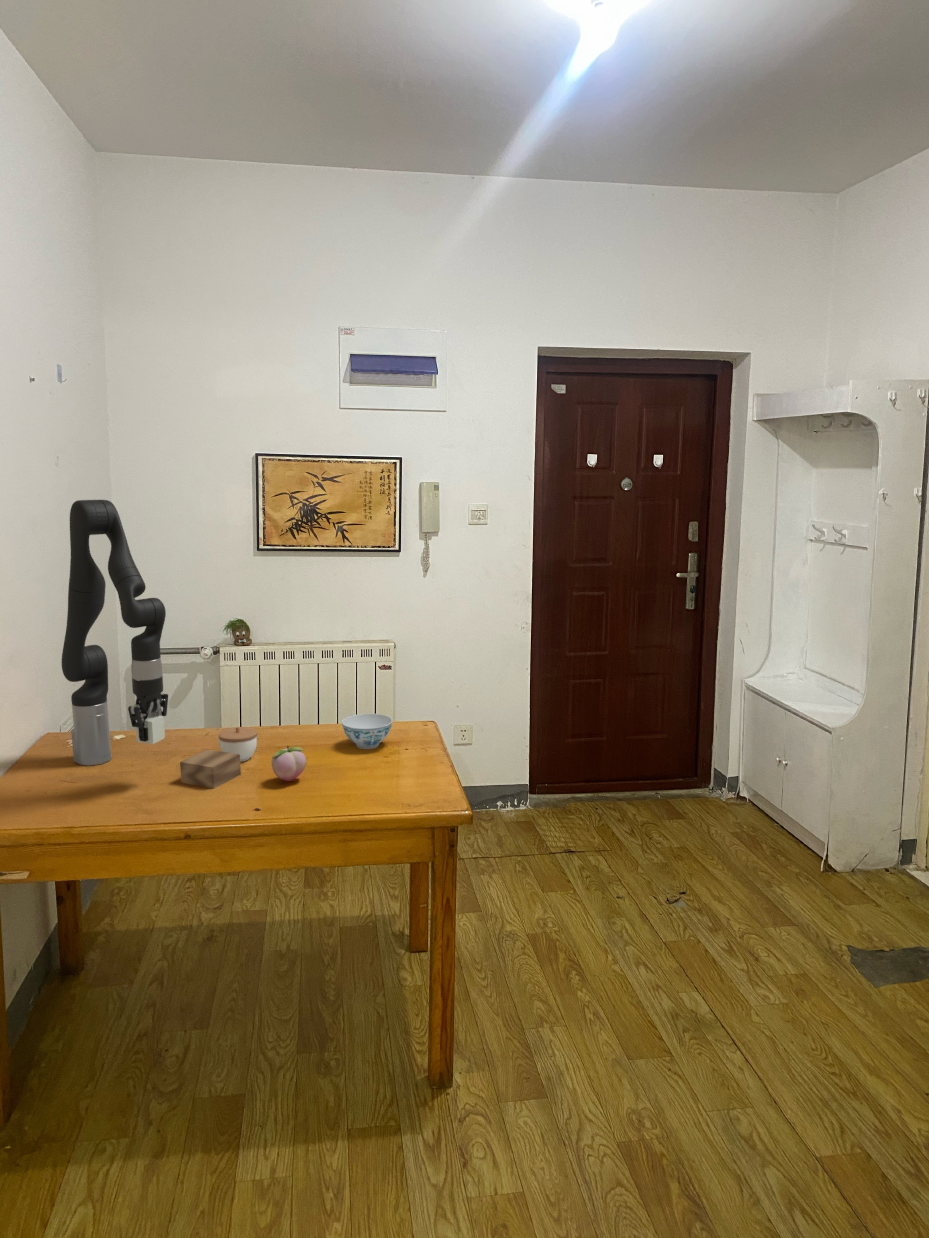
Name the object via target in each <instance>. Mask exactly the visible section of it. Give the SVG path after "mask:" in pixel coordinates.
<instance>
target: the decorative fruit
mask: <svg viewBox="0 0 929 1238" xmlns="http://www.w3.org/2000/svg"><path fill="white" fill-rule="evenodd" d="M305 751H306V750H305V749H304V748H302V747H299V746H293V747H289V745H287V747H286V748H284V749H283V748H282V749H280V750H278V751H276V752H275V753H274V754H273V755H272V758H271V769H272V770H273V773H274V775H275V776H276V777H277V778H279V779H281V780H282V781H286V782H292V781H294V780H296V779H297V778H298V777H300V775H301V774H302V773H303V772H304V770H305V768H306V767H307V757H306V756H305V754H304V753H303V752H305Z"/></svg>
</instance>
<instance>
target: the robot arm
mask: <svg viewBox="0 0 929 1238" xmlns="http://www.w3.org/2000/svg"><path fill="white" fill-rule="evenodd" d="M69 511H70V512H69V539H70V540H69V541H70V543H69V544H70V562H69V563H70V564H69V580H68V591H67V592H68V595H67V616H66V628H65V635H64V641H63V647H62V653H61V670H62V674H63V676H64V678H65V679H66V680H67V681H68V682H71V683H77V682H82V681H84V682H83V684H82V685H81V686H80V687H79V688H78V689H76V690H75V691H74V692H72V694H71V709H72V720H73V728H72V729H71V730H70V734H71V743H72V755H73V756H72V757H73V762H74V763H77V764H78V765H81V766H96V765H102V764H105V763H107V762H109V761H111V760H112V758H113V757H112V744H111V732H110V721H109V720H110V719H109V709H108V707H109V706H108V697H107V696H108V693H109V664H108V663H109V662H108V658H107V657H108V656H107V654H106V651H105V650H104V649H103V648H102V647H101V646H100V645H98V644H89V645H86V640H87V637H88V634H89V632H90V630H91V629H92V627H93V625H94V624H95V622H96V621H97V619H98V618H99V617H100V614H101V612H102V611H103V609H104V605H105V599H106V586H107V585H106V579H105V577H104V574H103V572H102V570H101V569H100V568H99V566H98V565H97V563H96V562H95V560H94V558H93V556H92V554H91V551H90V550H91V549H90V536H97V535H106V536H107V538H108V540H109V542H110V551H109V556H108V562H107V571H108V575H109V578H110V580H111V582H112V584H113V586H114V588H115V590H116V591H117V595H118V601H119V605H120V614H121V619H122V621H123V623H124V624H125V625H126V626H127V627H129V628H132V629H136V628H137V629H138V628H143V627H145V628H144V631H143V632H141V633H139V634H137V635H136V636H134V637H132V638H131V640H130V650H131V651H130V652H131V667H130V668H131V687H132V694H134V695H135V697H136V700H135V704H134V705H129V706H128V708H127V710H128V715H129V719H130V722H131V726H132V727H133V728H136V727H138V729H139V739H140V741H144V742H146V741H148V727H147V725H148V720H149V719H150V717H151V715H157V716H164V717H166V716H167V714H168V706H169V705H168V703H169V693H163V692H164V680H163V679H164V677H163V663H162V658H161V638H162V636H163V635H162V633H163V629H164V625H165V621H166V617H167V616H166V612H167V611H166V608H165V604H164V602H163V601H162V600H161V599H159V598H158V597H157V598H156V597H149V598H140V599H136V598H138V597H140V596H142V594H144V593H145V590H146V583H145V581H144V579H143V577H142V575H141V573H140V571H139V569H138V567H137V565H136V562H135V561H134V559H133V556H132V553H131V549H130V547H129V544H128V540H127V537H126V533H125V530H124V527H123V523H122V520H121V517H120V513H119V512H118V510H117V507H116V506H115V505H114V503H113V502H112V501H110V500H108V499H79V500H76V501H74V502H73V503H72V504H71V507H70V510H69ZM142 718H144V723H142ZM136 720H137V722H136Z"/></svg>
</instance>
